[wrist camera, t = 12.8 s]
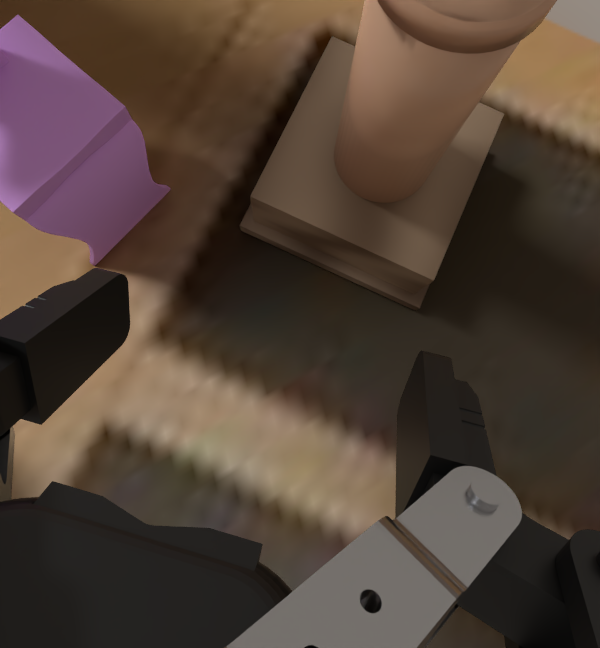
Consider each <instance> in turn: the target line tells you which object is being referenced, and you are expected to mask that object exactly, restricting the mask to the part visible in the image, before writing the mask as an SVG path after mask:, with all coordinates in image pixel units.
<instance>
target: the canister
mask: <svg viewBox="0 0 600 648" xmlns="http://www.w3.org/2000/svg"><path fill="white" fill-rule="evenodd" d="M556 1H557V0H365V2H364V7H363V12H362V17H361V22H360V27H359V32H358V36H357V41H356V46H355V51H354V56H353V61H352V66H351V71H350V75H349V80H348V85H347V90H346V95H345V100H344V105H343V109H342V114H341V119H340V124H339V129H338V134H337V139H336V144H335V149H334V161H335V166H336V169H337V172H338V174H339V176H340V178H341V180H342V181H343V183H344V184H345V185H346V186H347V187H348V188H349V189H350V190H351V191H352V192H354V193H355V194H356V195H358V196H360V197H362V198H364V199H366V200H369V201H373V202H379V203H391V202H397V201H400V200H403V199H405V198H408V197H409V196H411V195H412V194H414V193H415V192H416V191H418V189H419V188H420V187H421V186H422V185H423V183H424V182H425V181H426V179H427V178H428V176H429V175H430V173H431V172H432V170H433V169H434V167H435V166H436V164H437V163H438V162H439V160H440V159H441V157H442V156H443V154H444V153H445V151H446V150H447V148H448V147H449V145H450V144H451V142H452V141H453V139H454V138H455V136H456V135H457V134H458V132H459V131H460V129H461V128H462V126H463V125H464V123H465V122H466V120H467V119H468V117H469V116H470V114H471V113H472V111H473V110H474V108H475V107H476V106H477V104H478V103H479V101H480V100H481V98H482V97H483V95H484V94H485V92H486V91H487V89H488V88H489V86H490V85H491V83H492V82H493V81H494V79H495V78H496V76H497V75H498V73H499V72H500V70H501V69H502V67H503V66H504V64H505V63H506V61H507V60H508V58H509V57H510V55H511V54H512V53H513V51H514V50H515V48H516V47H517V45H518V44H519V42H520V41H521V40H522V39H524V38H525V37H526V36H528V35H529V34H530V33H532V32H533V31H534V30H535V29H536V28H537V27H538V26H539V25H540V24H541V22H542V21H543V20H544V18H545V17H546V15H547V14H548V12H549V11H550V10H551V8H552V7H553V5H554V4H555V2H556Z"/></svg>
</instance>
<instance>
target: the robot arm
mask: <svg viewBox="0 0 600 648" xmlns="http://www.w3.org/2000/svg"><path fill="white" fill-rule="evenodd" d="M129 328H130V314H129V292H128V280H127V278H126V276H125V275H123V274H120V273H116V272H112V271H108V270H104V269H100V268H94V269H92V270H91V271H89V272H87V273H86V274H84V275H83V276H81V277H80V278H78V279H77V280H75V281H74V280H73V281H70V282H66V283H63V284H60V285H57V286H54V287H52V288H50V289H49V290H47V291H45V292H44V293H42V294H41V295H39V296H38V298H34V299H33V300H31V301H29V302H28V303H26V305H25V306H21V307H20V308H18V309H17V310H15V311H13V312H12V313H10V314H9V315H7V316H5V317H4V318H2V319H1V320H0V648H426V647H427V646H428V645H429V643H430V642H431V641H432V640H433V638H434V637H435V636H436V635H437V633H438V632H439V631H440V630H441V628H442V627H443V626H444V625H445V623H446V622H447V621H448V620H449V618H450V617H451V616H452V615H453V613H454V612H455V611H456V610H457V608H458V607H459V606H460V607H462V608H463V609H465V610H466V611H468V612H469V613H471V614H472V615H474V616H475V617H477V618H478V619H480V620H481V621H483V622H485V623H486V624H488V625H489V626H491V627H492V628H494V629H495V630H497V631H498V632H500V633H501V634H503V635H504V637H505V645H506V648H600V531H596V530H581V531H578V532H577V533H575V534H574V535H573V536H572V537H571V539H570V540H568V539H566V538H564V537H562V536H561V535H559V534H557V533H555V532H553V531H551V530H550V529H548V528H546V527H544V526H542V525H540V524H539V523H537V522H535V521H533V520H532V519H530V518H529V517H527V516H526V515H524V514H523V513H522V510H521V505H520V503H519V501H518V499H517V497H516V495H515V494H514V492H513V491H512V490H511V489H510V488H509V486H508V485H507V484H506V483H504V482H503V481H502V480H501V479H500V478H498V477H497V476H496V472H495V468H494V463H493V459H492V455H491V450H490V446H489V442H488V437H487V433H486V430H485V429H484V428H485V424H484V420H483V416H481V415H482V411H481V407H480V403H479V398H478V397H477V395H476V394H475V393H474V391H473V390H472V388H471V387H470V386H469V384H468V383H467V382H464V381H460V380H456V379H454V373H453V367H452V361H451V358H449V357H445V356H441V355H437V354H433V353H429V352H425V351H420V352H419V354H418V356H417V358H416V361H415V363H414V366H413V368H412V371H411V374H410V376H409V379H408V381H407V384H406V387H405V389H404V392H403V394H402V397H401V400H400V404H399V408H398V414H397V452H396V517H395V519H394V520H391V519H390V518H389V517H388V516H386V517H383V518H381V519H380V520H378V521H377V522H376V523H374V524H373V525H372V526H371V527H370V528H368V529H367V530H366V531H365V532H364V533H362V534H361V535H360V536H359V537H358V538H356V539H355V540H354V541H353V542H352V543H350V544H349V545H348V546H347V547H346V548H344V549H343V550H342V551H341V552H340V553H338V554H337V555H336V556H335V557H334V558H332V559H331V560H330V561H329V562H328V563H326V564H325V565H324V566H323V567H322V568H320V569H319V570H318V571H317V572H316V573H314V574H313V575H312V576H311V577H310V578H308V579H307V580H306V581H305V582H304V583H302V584H301V585H300V586H299V587H298V588H296V589H295V590H294V591H293V592H292V590H291V589H290V588H289V587H288V586H287V585H286V583H285V582H284V581H283V580H282V579H281V578H280V577H279V576H278V575H276V574H275V573H274V572H273V571H272V570H270V569H269V568H268V567H266V566H265V565H263V564H262V563H260V562H259V558H260V553H261V549H262V544H261V543H257V542H254V541H251V540H247V539H244V538H241V537H237V536H234V535H231V534H227V533H224V532H221V531H217V530H214V529H210V528H195V527H171V526H152V525H148V524H145V523H143V522H142V521H140V520H138V519H137V518H135V517H134V516H132V515H131V514H129V513H128V512H126V511H125V510H123V509H121V508H120V507H118V506H117V505H115V504H114V503H112V502H111V501H109V500H108V499H106V498H104V497H103V496H100V495H97V494H93V493H90V492H87V491H83V490H80V489H77V488H73V487H70V486H67V485H63V484H60V483H57V482H53V481H52V482H51V484H50V485H49V486H48V487H47V488H46V489H45V491H44V492H43V493H42V494H41V495H40V497H32V498H19V499H13V500H11V489H12V473H13V457H14V440H15V432H14V428H13V425H14V424H15V423H16V422H17V421H19V420H20V419H24V420H27V421H30V422H34V423H37V424H41V425H42V424H43V423H44V422H45V421H46V420H47V419H48V418H49V417H50V416H51V415H52V414H53V413H54V412H55V411H56V410H57V409H58V408H59V407H60V406H61V405H62V404H63V403H64V402H65V401H66V400H67V399H68V398H69V397H70V396H71V395H72V394H73V393H74V392H75V391H76V390H77V389H78V388H79V387H80V386H81V385H82V384H83V383H84V382H85V381H86V380H87V379H88V378H89V377H90V376H91V375H92V374H93V373H94V372H95V371H96V370H97V369H98V368H99V367H100V366H101V365H102V364H103V363H104V362H105V361H106V360H107V359H108V358H109V357H110V356H111V355H112V354H113V353H114V352H115V351H116V350H117V349H118V348H119V347H120V346H121V345H122V344H123V343H124V342H125V340H126V338H127V335H128V332H129Z"/></svg>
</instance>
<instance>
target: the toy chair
mask: <svg viewBox="0 0 600 648" xmlns="http://www.w3.org/2000/svg"><path fill="white" fill-rule="evenodd" d="M170 190H171V188H170V187H168V186H167V185H161V184H157V183H155V182H154V181H153V180H152V177H151V174H150V171H149V166H148V160H147V153H146V147H145V141H144V138H143V135H142V132H141V130H140V128H139V127H138V125H137V124H136V123H135V122H134V121H133V120H132V118H131V116H130V114H129V112H128V110H127V109H126V107H125V106H124V105H123V104H122V103H121V102H120V101H118V100H117V99H116V98H115V97H114V96H113V95H111V94H110V93H109V92H108V91H107V90H106V89H104V88H103V87H102V86H101V85H100V84H98V83H97V82H96V81H95V80H93V79H92V78H91V77H90V76H89V75H87V74H86V73H85V72H84V71H82V70H81V69H80V68H79V67H78V66H77V65H75V64H74V63H73V62H72V61H71V60H70V59H68V58H67V57H66V56H65V55H64V54H63V53H61V52H60V51H59V50H58V49H57V48H56V47H55V46H54V45H52V44H51V43H50V42H49V41H48V40H47V39H46V38H45V37H43V36H42V35H41V34H40V33H39V32H38V31H37V30H35V29H34V28H33V27H32V26H31V25H30V24H28V23H27V22H26V21H25V20H24V19H23V18H21V17H20V16H19V15H16V16H15V17H14V18H13V19H12V20H11V21H9V22H8V23H7V24H6V25H5V26H4V27H2V28H1V29H0V201H1V202H2V203H3V204H4V205H5V206H6V207H8V208H9V209H10V210H11V211H12V212H13V213H15V214H16V215H18V216H19V217H21V218H22V219H24V220H25V221H27V222H28V223H29V224H30V225H32V226H33V227H35V228H36V229H38V230H41V231H43V232H46V233H49V234H54V235H60V236H65V237H71V238H75V239H79V240H82V241H84V242H86V243H87V244H88V245H89V248H90V263H91V264H92V265H94V266H95V265H96V264H97V263H98V262H99V261H100V260H101V259H102V258H103V257H104V256H105V255H106V254H107V253H108V252H109V251H110V250H111V249H112V248H113V247H114V246H115V245H116V244H117V243H118V242H119V241H120V240H121V239H122V238H123V237H124V236H125V235H126V234H127V233H128V232H129V231H130V230H131V229H132V228H133V227H134V226H135V225H136V224H137V223H138V222H139V221H140V220H141V219H142V218H143V217H144V216H145V215H146V214H147V213H148V212H149V211H150V210H151V209H152V208H153V207H154V206H155V205H156V204H157V203H158V202H159V201H160V200H161V199H162V198H163V197H164V196H165V195H166V194H167V193H168V192H169V191H170Z"/></svg>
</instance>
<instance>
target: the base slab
mask: <svg viewBox="0 0 600 648" xmlns="http://www.w3.org/2000/svg"><path fill="white" fill-rule="evenodd" d="M354 51H355V46H353V45H351V44H348V43H346V42H344V41H342V40H339V39H337V38H335V37H333V36H332V37H331V39H330V41H329V43H328V45H327V47H326V49H325V51H324V53H323V55H322V57H321V59H320V61H319V63H318V65H317V67H316V68H315V70H314V72H313V74H312V76H311V78H310V80H309V82H308V84H307V86H306V88H305V90H304V92H303V94H302V96H301V98H300V100H299V102H298V104H297V106H296V108H295V110H294V112H293V114H292V115H291V117H290V119H289V121H288V123H287V125H286V127H285V129H284V131H283V133H282V135H281V137H280V139H279V141H278V143H277V145H276V147H275V149H274V151H273V153H272V155H271V157H270V159H269V161H268V162H267V164H266V166H265V168H264V170H263V172H262V174H261V176H260V178H259V180H258V182H257V184H256V186H255V188H254V190H253V192H252V194H251V196H250V199H251V204H250V206H249V208H248V210H247V212H246V214H245V216H244V218H243V220H242V222H241V224H240V229H241V231H243V232H245V233H247V234H250V235H252V236H254V237H256V238H258V239H260V240H263V241H265V242H267V243H269V244H271V245H273V246H276V247H278V248H280V249H282V250H284V251H287V252H289V253H291V254H293V255H295V256H297V257H300V258H302V259H304V260H306V261H308V262H310V263H313V264H315V265H317V266H319V267H321V268H323V269H326V270H328V271H330V272H332V273H334V274H336V275H339V276H341V277H343V278H345V279H347V280H350V281H352V282H354V283H356V284H358V285H360V286H363V287H365V288H367V289H369V290H371V291H373V292H376V293H378V294H380V295H382V296H384V297H386V298H389V299H391V300H393V301H395V302H397V303H399V304H402V305H404V306H406V307H408V308H410V309H413V310H415V311H416V310H417V309H419V308H420V306H421V304H422V302H423V299H424V297H425V294H426V292H427V290H428V287H429V285H430V283H431V282H433V281H434V279H435V277H436V274H437V272H438V270H439V267H440V265H441V262H442V260H443V258H444V255H445V253H446V251H447V248H448V246H449V243H450V241H451V239H452V236H453V234H454V232H455V229H456V227H457V224H458V222H459V220H460V217H461V215H462V213H463V210H464V208H465V206H466V203H467V201H468V198H469V196H470V194H471V191H472V189H473V187H474V184H475V182H476V179H477V177H478V175H479V172H480V170H481V168H482V165H483V163H484V160H485V158H486V156H487V153H488V151H489V149H490V146H491V144H492V141H493V139H494V137H495V134H496V132H497V130H498V127H499V125H500V122H501V120H502V118H503V115H504V113H501V112H499V111H497V110H495V109H493V108H490V107H488V106H486V105H484V104H481V103H478V104H477V106H476V107H475V108H474V110H473V111H472V113H471V114H470V116H469V117H468V119H467V120H466V122H465V123H464V125H463V126H462V128H461V129H460V131H459V132H458V134H457V135H456V136H455V138H454V139H453V141H452V142H451V144H450V145H449V147H448V148H447V150H446V151H445V153H444V154H443V156H442V157H441V159H440V160H439V162H438V163H437V164H436V166H435V167H434V169H433V170H432V172H431V173H430V175H429V176H428V178H427V179H426V181H425V182H424V183H423V185H422V186H421V187H420V188H419V189H418V191H416V192H415V193H414V194H412V195H411V196H409V197H408V198H405V199H403V200H400V201H397V202H391V203H379V202H373V201H369V200H366V199H364V198H362V197H360V196H358V195H356V194H355V193H354V192H352V191H351V190H350V189H349V188H348V187H347V186H346V185H345V184H344V183H343V181H342V180H341V178H340V176H339V174H338V172H337V169H336V166H335V161H334V149H335V144H336V139H337V134H338V129H339V124H340V119H341V114H342V109H343V105H344V100H345V95H346V90H347V85H348V80H349V75H350V71H351V66H352V61H353V56H354Z"/></svg>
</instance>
